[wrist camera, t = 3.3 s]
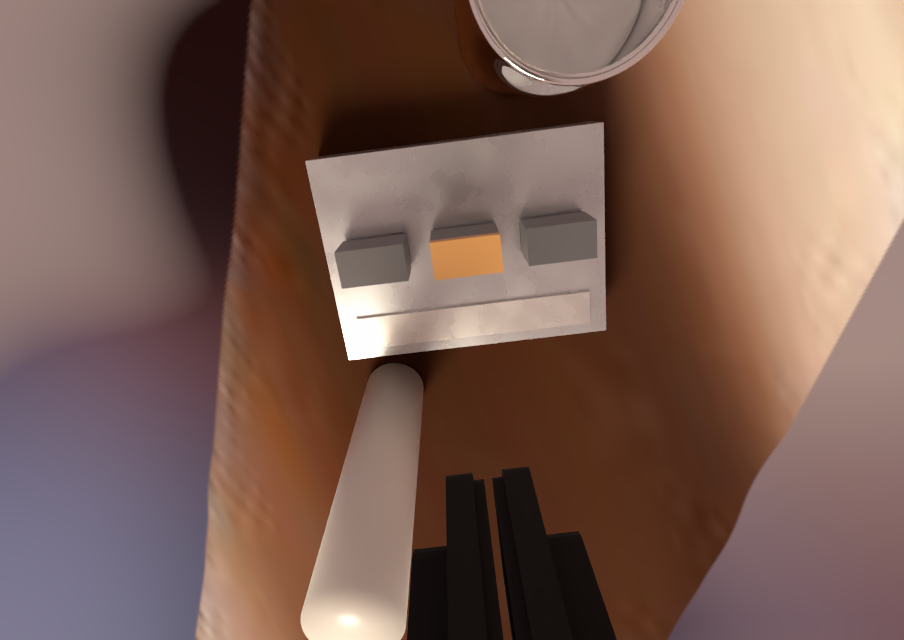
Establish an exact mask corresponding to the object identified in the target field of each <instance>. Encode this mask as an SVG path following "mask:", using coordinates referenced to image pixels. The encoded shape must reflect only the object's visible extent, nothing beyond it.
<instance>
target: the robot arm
mask: <svg viewBox="0 0 904 640" xmlns="http://www.w3.org/2000/svg"><path fill="white" fill-rule="evenodd" d="M492 480H493V489H494V498H495V507H496V515H497V524H498V533H499V542H500V550H501V559H502V568H503V576H504V585H505V592H506V600H507V607H508V614H509V621H510V629H511V636H512V640H616V637H615V634H614V631H613V628H612V625H611V622H610V619H609V616H608V613H607V610H606V607H605V604H604V601H603V598H602V596H601V593H600V590H599V587H598V584H597V581H596V578H595V575H594V572H593V569H592V566H591V563H590V560H589V557H588V554H587V551H586V549H585V546H584V543H583V540H582V537H581V535H580V533H579V532H578V531H577V532H568V533H559V534H550V535H546V532H545V528H544V524H543V520H542V516H541V512H540V508H539V505H538V501H537V497H536V493H535V489H534V485H533V481H532V477H531V473H530V470H529V467H520V468H511V469H502V477H498V478H492ZM446 521H447V546H443V547H434V548H425V549H416V550H414V552H413V557H412V571H411V586H410V602H409V617H408V633H407V640H503V633H502V625H501V617H500V608H499V600H498V592H497V584H496V575H495V567H494V559H493V551H492V543H491V535H490V526H489V518H488V510H487V502H486V494H485V485H484V479H480V480H473V473H467V474H459V475H450V476H446Z"/></svg>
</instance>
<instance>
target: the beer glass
mask: <svg viewBox="0 0 904 640" xmlns="http://www.w3.org/2000/svg"><path fill="white" fill-rule="evenodd" d="M683 3H684V0H454V11H455V18H456V24H457V28H458V39H459V46H460V51H461V54H462V57H463V59H464V62H465V64H466V66H467V68H468V69H469V71H470V72H471V74H472V75H473V76H474V77H475V78H476V79H477V80H478V81H479V82H480V83H481V84H483V85H484V86H485V87H487V88H489V89H491V90H493V91H496V92H499V93H504V94H519V95H523V96H529V97H558V96H564V95H568V94H571V93H575V92H578V91H581V90H584V89H587V88H589V87H591V86H593V85H595V84H597V83H599V82H602V81H603V80H606V79H609V78H611V77H613V76H616V75H618V74H620V73H621V72H623V71H625V70H627V69H628V68H630V67H631V66H633V65H634V64H635V63H637V62H638V61H639V60H641V59H642V58H643V57H644V56H645V55H646V54H648V53H649V52H650V51H651V50H652V49H653V48H654V47H655V46H656V44H657V43H658V42H659V41H660V40H661V39H662V37H663V36H664V35H665V33H666V32H667V31H668V29H669V28H670V26H671V25H672V23H673V22H674V20H675V18H676V16H677V15H678V13H679V11H680V9H681V7H682V5H683Z"/></svg>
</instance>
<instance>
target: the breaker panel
mask: <svg viewBox="0 0 904 640" xmlns="http://www.w3.org/2000/svg"><path fill="white" fill-rule="evenodd" d="M305 163H306V167H307V172H308V176H309V181H310V185H311V190H312V194H313V199H314V204H315V208H316V213H317V217H318V222H319V226H320V231H321V235H322V240H323V245H324V249H325V254H326V258H327V263H328V267H329V272H330V276H331V281H332V285H333V290H334V295H335V299H336V304H337V308H338V313H339V317H340V322H341V326H342V331H343V336H344V340H345V345H346V349H347V354H348V358H349V360H354V359H363V358H371V357H380V356H388V355H397V354H406V353H414V352H423V351H431V350H440V349H449V348H457V347H466V346H474V345H483V344H491V343H500V342H509V341H517V340H526V339H534V338H543V337H552V336H560V335H569V334H577V333H586V332H594V331H603V330H606V285H605V194H604V122H592V121H588V122H580V123H572V124H565V125H557V126H549V127H542V128H534V129H526V130H519V131H511V132H503V133H495V134H488V135H480V136H472V137H465V138H457V139H449V140H442V141H434V142H426V143H419V144H411V145H403V146H395V147H388V148H380V149H372V150H365V151H357V152H349V153H342V154H334V155H326V156H319V157H315V158H312V159H309V160H307V161H305ZM584 211H585V212H586V213H588V214H589V215H590V216H592V217H593V218H595V219H596V220H597V257H598V258H593V259H585V260H577V261H568V262H560V263H552V264H544V265H535V266H529V265H528V264H527V262H526V260H525V258H524V256H523V254H522V242H521V229H520V219H527V218H535V217H543V216H551V215H559V214H567V213H575V212H584ZM487 223H495V224H496V226H497V228H498V231H499V233H500V238H501V249H502V260H503V272H501V273H493V274H484V275H476V276H468V277H460V278H451V279H443V280H435V279H434V272H433V265H432V258H431V251H430V244H429V242H430V234H431V230H439V229H447V228H455V227H463V226H471V225H479V224H487ZM398 234H406V236H407V242H408V249H409V255H410V261H411V272H410V277H409V281H403V282H395V283H387V284H379V285H370V286H362V287H354V288H346V289H342V287H341V283H340V278H339V273H338V269H337V264H336V259H335V255H334V252H335V251H336V250H337V248H338V247H339V246H340V244H341V243H342V242H343V241H350V240H358V239H366V238H374V237H382V236H390V235H398Z"/></svg>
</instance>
